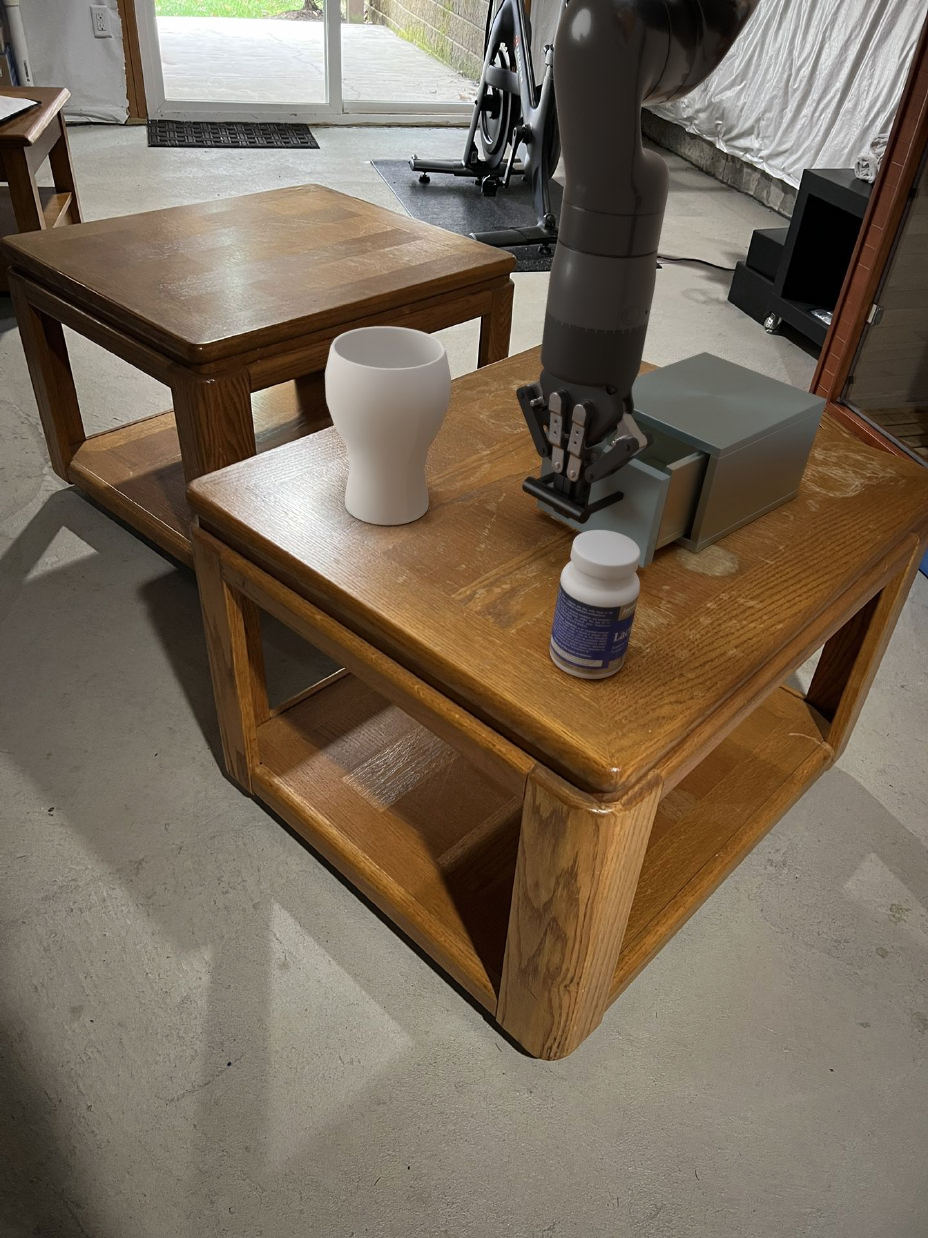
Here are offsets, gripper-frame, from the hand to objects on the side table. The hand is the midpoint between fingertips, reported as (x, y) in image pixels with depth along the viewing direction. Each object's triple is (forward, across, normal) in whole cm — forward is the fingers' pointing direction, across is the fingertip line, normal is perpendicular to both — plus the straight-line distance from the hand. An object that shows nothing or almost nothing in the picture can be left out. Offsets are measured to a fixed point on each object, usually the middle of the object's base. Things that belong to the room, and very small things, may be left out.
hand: (567, 512), depth 78 cm
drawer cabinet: (+5, 0, -18) cm, 19 cm away
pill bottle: (+5, -11, +8) cm, 14 cm away
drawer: (+4, 0, -8) cm, 9 cm away
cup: (+5, +16, +7) cm, 18 cm away
